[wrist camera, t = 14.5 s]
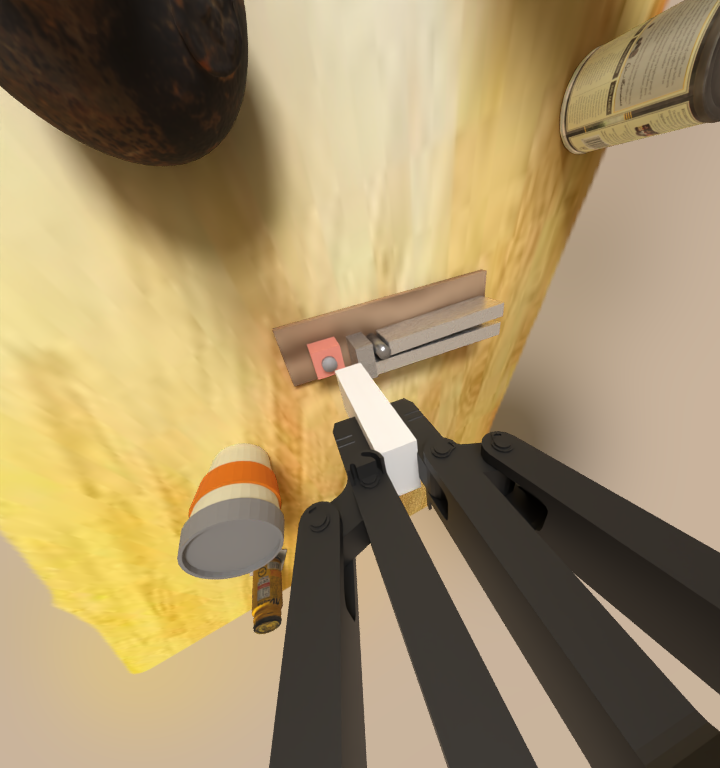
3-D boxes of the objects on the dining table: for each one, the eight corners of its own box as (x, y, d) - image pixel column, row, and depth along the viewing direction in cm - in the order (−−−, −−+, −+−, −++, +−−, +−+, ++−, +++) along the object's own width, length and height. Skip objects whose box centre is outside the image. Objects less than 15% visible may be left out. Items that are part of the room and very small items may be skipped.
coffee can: (636, 36, 32) (845, -71, 21) (610, 146, 38) (762, 109, 26) (568, 50, 31) (750, -56, 19) (551, 162, 37) (685, 131, 25)
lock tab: (306, 344, 37) (311, 356, 34) (333, 336, 38) (341, 347, 34) (314, 368, 39) (319, 382, 36) (340, 360, 40) (347, 373, 36)
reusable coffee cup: (269, 426, 43) (271, 503, 31) (287, 476, 50) (295, 557, 38) (186, 447, 41) (152, 542, 28) (216, 497, 47) (200, 592, 35)
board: (272, 328, 36) (272, 331, 35) (481, 269, 41) (486, 270, 40) (293, 382, 41) (294, 386, 40) (477, 323, 46) (482, 325, 45)
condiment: (249, 575, 62) (247, 641, 52) (253, 553, 58) (250, 619, 48) (282, 569, 64) (285, 630, 55) (287, 547, 61) (291, 609, 51)
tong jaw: (363, 334, 39) (377, 348, 34) (480, 295, 42) (507, 303, 37) (366, 346, 40) (380, 361, 35) (479, 307, 43) (506, 317, 38)
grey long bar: (345, 336, 39) (355, 349, 34) (479, 296, 42) (502, 303, 38) (352, 366, 41) (362, 382, 37) (477, 326, 45) (498, 336, 41)
